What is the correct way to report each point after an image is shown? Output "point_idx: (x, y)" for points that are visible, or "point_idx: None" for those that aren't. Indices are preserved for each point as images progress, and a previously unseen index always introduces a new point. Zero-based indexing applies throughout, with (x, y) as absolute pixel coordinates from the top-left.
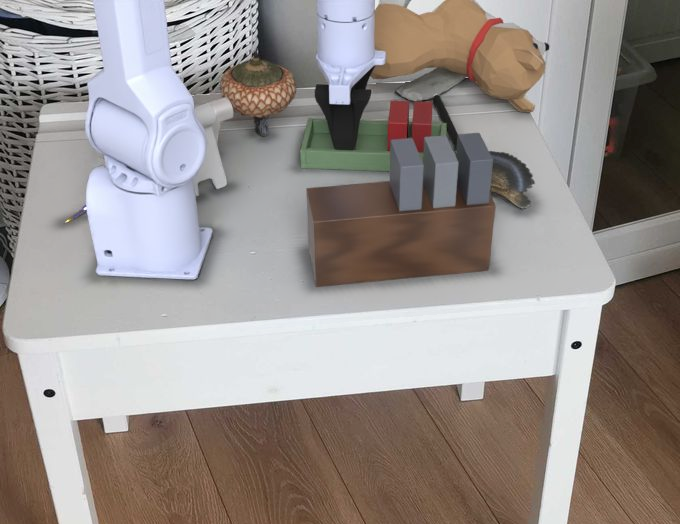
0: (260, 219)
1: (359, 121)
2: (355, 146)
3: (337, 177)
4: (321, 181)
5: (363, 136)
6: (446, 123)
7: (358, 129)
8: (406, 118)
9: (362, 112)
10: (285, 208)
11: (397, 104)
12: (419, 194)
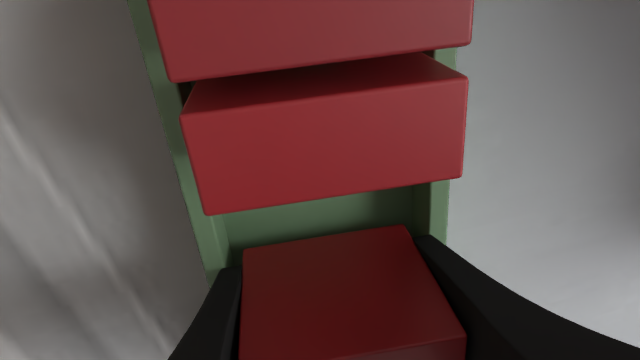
0: (632, 322)
1: (532, 302)
2: (380, 233)
3: (462, 226)
4: (482, 257)
5: (237, 220)
6: None
7: (248, 251)
8: (413, 91)
9: (599, 333)
10: (598, 293)
11: (246, 174)
12: None
